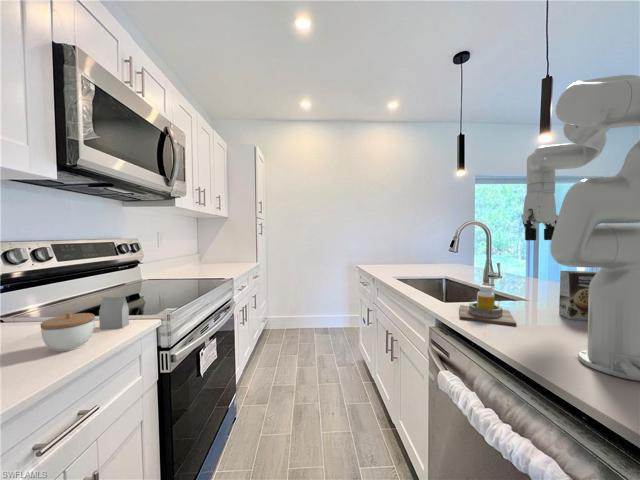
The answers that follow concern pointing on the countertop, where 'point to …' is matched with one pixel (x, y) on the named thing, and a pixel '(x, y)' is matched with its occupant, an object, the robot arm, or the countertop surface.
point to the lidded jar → (67, 331)
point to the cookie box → (574, 294)
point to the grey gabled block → (114, 313)
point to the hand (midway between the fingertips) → (540, 240)
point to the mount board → (487, 315)
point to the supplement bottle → (485, 298)
